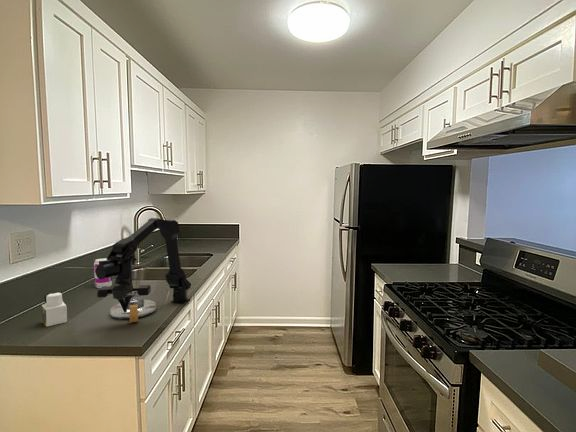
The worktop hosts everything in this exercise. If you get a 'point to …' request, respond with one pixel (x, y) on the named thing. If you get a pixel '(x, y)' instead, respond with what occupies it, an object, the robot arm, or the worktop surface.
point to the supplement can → (103, 282)
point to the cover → (136, 302)
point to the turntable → (133, 311)
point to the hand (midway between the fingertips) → (125, 311)
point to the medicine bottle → (54, 309)
